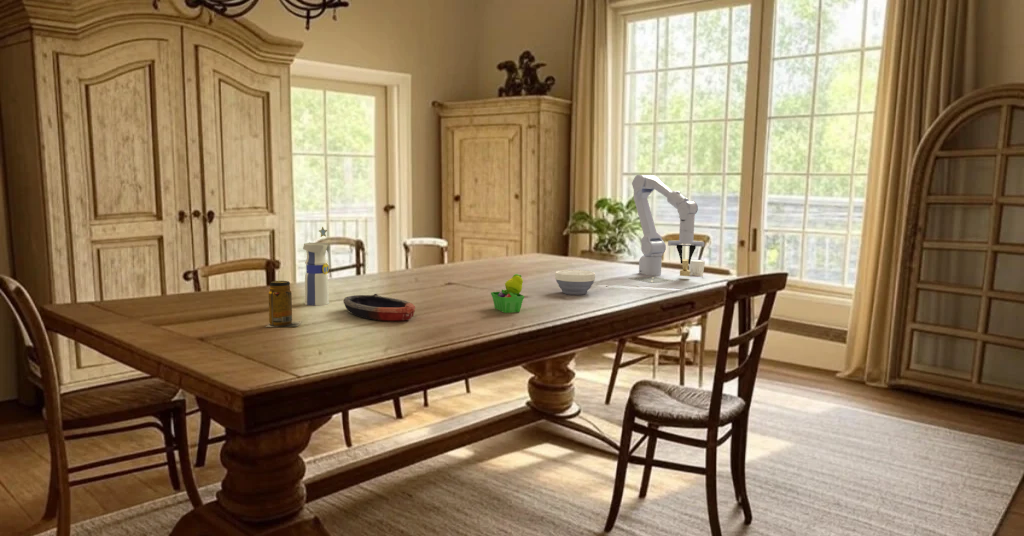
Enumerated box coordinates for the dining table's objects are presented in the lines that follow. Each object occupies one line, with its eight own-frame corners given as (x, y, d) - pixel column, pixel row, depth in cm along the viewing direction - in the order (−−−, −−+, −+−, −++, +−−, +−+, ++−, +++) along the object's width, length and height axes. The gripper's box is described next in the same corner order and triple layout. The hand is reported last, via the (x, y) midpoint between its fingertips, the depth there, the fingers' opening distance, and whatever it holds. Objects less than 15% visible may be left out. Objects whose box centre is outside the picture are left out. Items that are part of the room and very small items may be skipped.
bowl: (581, 297, 250) (581, 276, 249) (546, 293, 258) (547, 272, 257) (602, 293, 261) (602, 272, 260) (568, 288, 270) (569, 268, 269)
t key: (689, 276, 290) (690, 261, 290) (679, 276, 291) (680, 260, 291) (689, 274, 299) (690, 259, 298) (679, 273, 300) (680, 258, 299)
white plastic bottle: (335, 302, 234) (334, 225, 231) (322, 306, 226) (320, 227, 222) (313, 300, 236) (312, 224, 233) (299, 304, 228) (297, 226, 225)
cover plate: (627, 280, 294) (627, 278, 294) (653, 278, 301) (653, 276, 301) (651, 285, 282) (651, 282, 282) (677, 283, 289) (677, 280, 289)
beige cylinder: (687, 277, 309) (688, 260, 308) (688, 275, 316) (689, 259, 315) (703, 277, 307) (704, 261, 306) (704, 275, 314) (705, 260, 313)
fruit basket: (489, 307, 228) (489, 272, 227) (515, 306, 231) (516, 271, 230) (501, 314, 217) (502, 277, 216) (528, 312, 220) (529, 276, 219)
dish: (374, 306, 229) (374, 290, 228) (431, 321, 206) (431, 303, 206) (330, 311, 218) (329, 295, 218) (385, 327, 196) (385, 309, 195)
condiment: (271, 322, 200) (270, 279, 199) (302, 322, 201) (301, 279, 199) (264, 327, 193) (263, 283, 191) (297, 327, 194) (296, 283, 192)
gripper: (668, 230, 291) (667, 263, 292) (705, 231, 287) (703, 265, 289) (668, 229, 297) (667, 262, 299) (704, 230, 294) (703, 263, 296)
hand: (685, 263), depth 294 cm, fingers closed on t key, 2 cm apart
